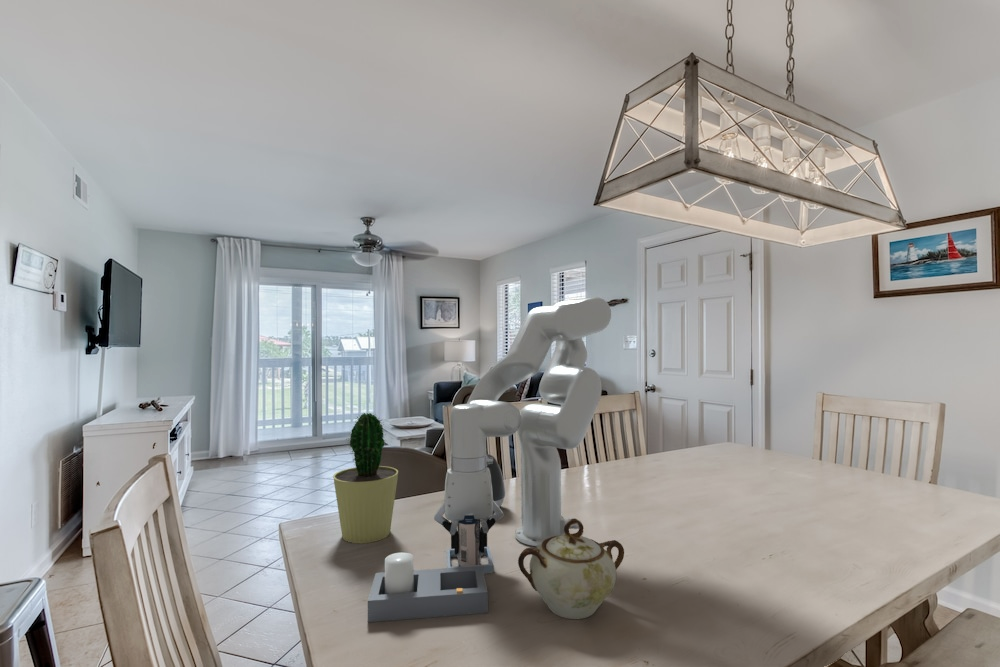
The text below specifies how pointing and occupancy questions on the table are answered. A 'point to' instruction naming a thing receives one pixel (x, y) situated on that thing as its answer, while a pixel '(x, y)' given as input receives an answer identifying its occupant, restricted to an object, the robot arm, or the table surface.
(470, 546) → the beer can
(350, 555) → the table surface
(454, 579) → the two-slot holder block
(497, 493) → the pump dispenser
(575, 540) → the sugar bowl
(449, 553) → the hollow square frame
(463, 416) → the robot arm
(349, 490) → the potted cactus
